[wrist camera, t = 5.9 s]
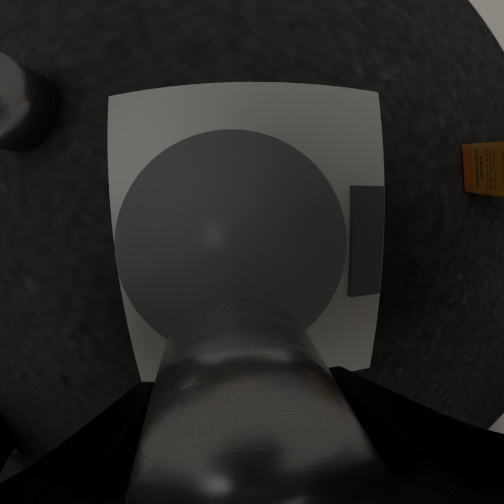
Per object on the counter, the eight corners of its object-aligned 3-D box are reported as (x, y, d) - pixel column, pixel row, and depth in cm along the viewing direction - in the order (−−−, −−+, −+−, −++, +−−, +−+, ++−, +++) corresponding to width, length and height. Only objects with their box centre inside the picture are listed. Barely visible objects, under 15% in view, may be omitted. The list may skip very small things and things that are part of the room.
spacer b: (58, 143, 12) (1, 131, 7) (3, 158, 12) (-54, 156, 7) (64, 69, 11) (16, 36, 6) (8, 90, 11) (-43, 71, 6)
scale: (355, 350, 16) (374, 373, 14) (150, 368, 15) (141, 396, 13) (360, 102, 13) (384, 89, 11) (122, 107, 12) (103, 92, 10)
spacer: (317, 291, 8) (422, 412, 3) (309, 412, 9) (358, 533, 4) (151, 302, 7) (80, 446, 3) (176, 423, 8) (164, 554, 4)
